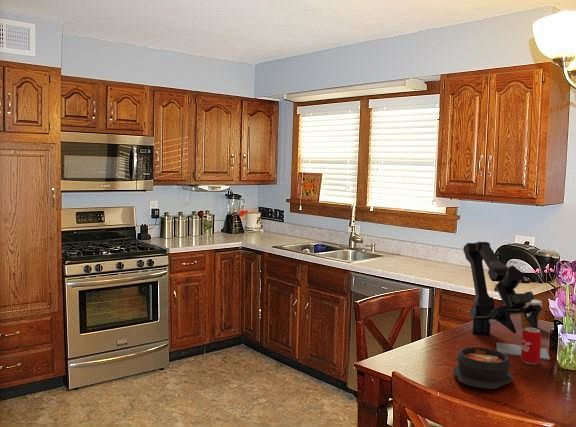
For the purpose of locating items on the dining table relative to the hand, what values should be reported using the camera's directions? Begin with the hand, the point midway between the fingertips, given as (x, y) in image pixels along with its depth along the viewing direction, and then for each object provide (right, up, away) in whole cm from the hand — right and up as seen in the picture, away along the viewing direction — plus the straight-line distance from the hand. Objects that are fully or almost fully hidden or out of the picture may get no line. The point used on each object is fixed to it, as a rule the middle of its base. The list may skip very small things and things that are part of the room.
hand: (526, 332), depth 195 cm
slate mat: (+2, -9, +9) cm, 13 cm away
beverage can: (0, -10, -2) cm, 11 cm away
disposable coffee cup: (+20, -7, +42) cm, 47 cm away
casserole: (-23, -11, -19) cm, 32 cm away
